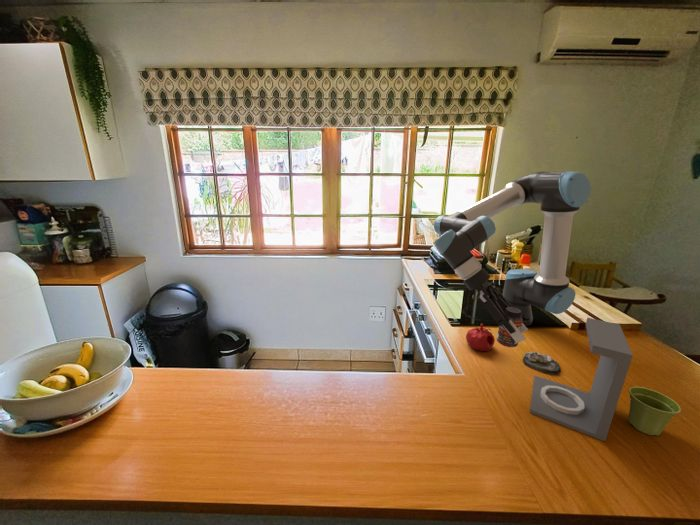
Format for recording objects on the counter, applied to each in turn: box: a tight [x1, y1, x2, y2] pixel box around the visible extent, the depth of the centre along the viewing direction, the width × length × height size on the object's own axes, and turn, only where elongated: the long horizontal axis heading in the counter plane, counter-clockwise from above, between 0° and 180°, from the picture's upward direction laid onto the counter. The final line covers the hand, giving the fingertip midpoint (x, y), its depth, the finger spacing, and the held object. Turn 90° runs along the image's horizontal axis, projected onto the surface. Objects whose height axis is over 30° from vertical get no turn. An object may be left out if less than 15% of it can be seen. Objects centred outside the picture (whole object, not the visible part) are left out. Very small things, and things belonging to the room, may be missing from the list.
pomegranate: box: [465, 323, 496, 352], centre depth 112 cm, size 10×10×9 cm
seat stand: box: [529, 317, 633, 442], centre depth 81 cm, size 18×16×24 cm
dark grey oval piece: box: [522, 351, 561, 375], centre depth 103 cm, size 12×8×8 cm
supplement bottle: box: [496, 307, 523, 348], centre depth 91 cm, size 6×6×11 cm
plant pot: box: [628, 386, 682, 437], centre depth 77 cm, size 9×9×9 cm
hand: (522, 336), depth 90 cm, fingers closed on supplement bottle, 6 cm apart
